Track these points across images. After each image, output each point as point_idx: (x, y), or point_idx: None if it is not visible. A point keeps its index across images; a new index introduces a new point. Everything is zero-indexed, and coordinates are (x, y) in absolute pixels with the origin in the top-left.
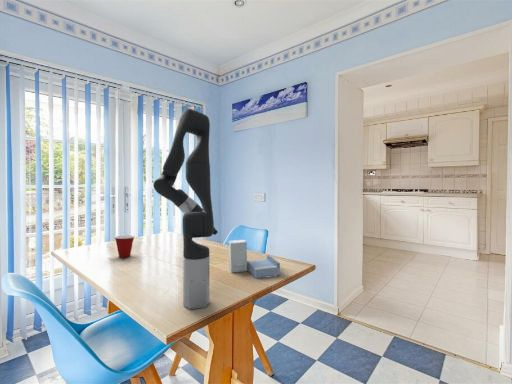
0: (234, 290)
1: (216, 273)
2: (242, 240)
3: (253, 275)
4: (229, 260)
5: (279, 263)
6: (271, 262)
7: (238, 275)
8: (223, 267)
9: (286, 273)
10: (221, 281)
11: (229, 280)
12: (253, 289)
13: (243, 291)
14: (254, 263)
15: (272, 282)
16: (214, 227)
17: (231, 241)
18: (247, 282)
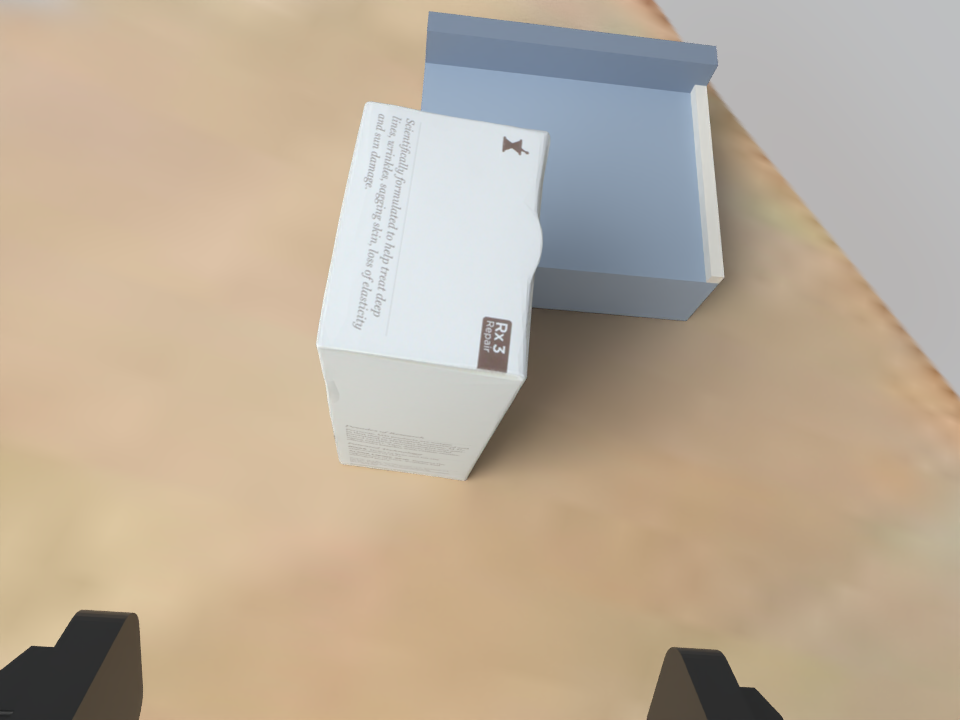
0: (919, 585)
1: (432, 650)
2: (432, 147)
3: (632, 312)
4: (353, 443)
5: (715, 50)
6: (556, 74)
7: (567, 435)
8: (256, 516)
9: None
10: None
11: (678, 562)
12: (915, 423)
13: (946, 515)
14: None
15: (797, 234)
16: (90, 625)
17: (408, 325)
18: (761, 416)
